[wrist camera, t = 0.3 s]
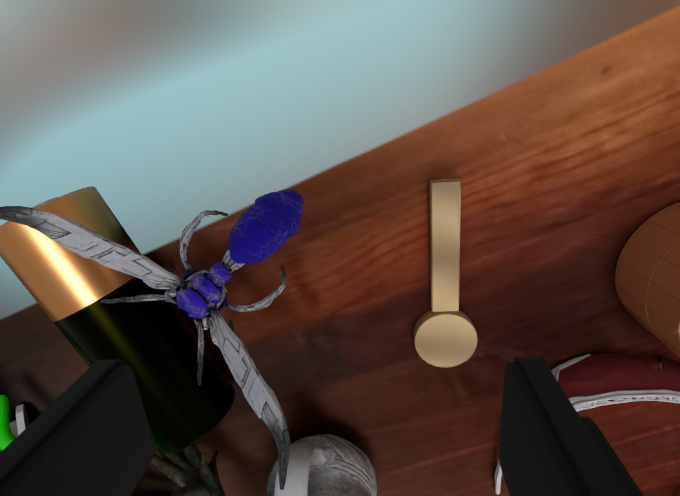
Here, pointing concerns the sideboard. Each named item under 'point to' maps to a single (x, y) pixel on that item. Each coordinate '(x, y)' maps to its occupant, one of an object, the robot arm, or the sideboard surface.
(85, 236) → the mechanical insect
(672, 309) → the pot
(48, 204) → the battery
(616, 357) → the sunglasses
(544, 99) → the sideboard surface
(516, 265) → the sideboard surface
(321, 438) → the mug
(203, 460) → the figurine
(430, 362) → the wooden spoon
